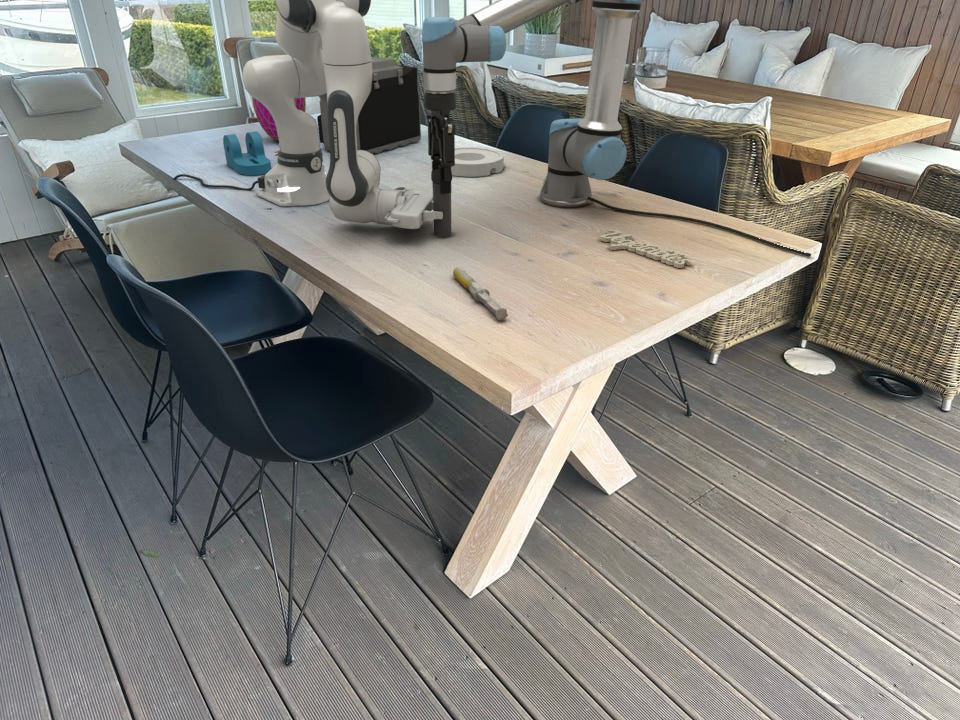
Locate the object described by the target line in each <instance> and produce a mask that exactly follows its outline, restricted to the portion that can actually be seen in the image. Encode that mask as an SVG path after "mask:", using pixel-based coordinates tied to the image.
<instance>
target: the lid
mask: <svg viewBox="0 0 960 720" xmlns="http://www.w3.org/2000/svg"><path fill="white" fill-rule="evenodd" d="M430 173H431V174H430V179H431V182H432V181H433V182H435V183H440V169H436V170H433V171H432V170H431V171H430ZM452 181H453V175H452V171H451V182H452Z"/></svg>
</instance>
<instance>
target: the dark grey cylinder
mask: <svg viewBox="0 0 960 720" xmlns="http://www.w3.org/2000/svg"><path fill="white" fill-rule="evenodd" d="M432 192H433V210H432V211H437V210H440V211H443V212H444V217H443V218H442V219H433V220H432V221H433V236H434V237H436V238H443V239H444V238H449V237H451V236H452V192H451V193H447V194H440V183H435V182H433V187H432Z"/></svg>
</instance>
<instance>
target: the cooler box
mask: <svg viewBox="0 0 960 720" xmlns="http://www.w3.org/2000/svg"><path fill="white" fill-rule="evenodd" d="M371 61H372V86H371V92H370V94H369V96H368V98H367V99H366V101H365V103H364V105H363V107H362V109H361V111H360V113H359V116H358V119H357V125H356V137H357V150H365V151H368V152H370V153H371V154H373V155H374V154H375V155H377V154H381V153H382V152H383V151H391V150H395V149H396V148H397V147H405V146H407V145H408V144H416V143H418V142H419V141H421V137H422V128H421V97H420V92H419V91H420V89H419V68H418V67H417V66H408V65H400V64H396V62H395V60H394V59H393V58H385V57H377V56H371ZM318 98H319V110H320V111H319V112H320V114H319V115H317V116H316V119H317V120H316V121H317V125H318V134H319V143H320V144H323V146H324V149H325V150H327V151H330V148H329V132H328V105H327V94H324V95H321V96H318Z"/></svg>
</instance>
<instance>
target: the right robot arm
mask: <svg viewBox="0 0 960 720" xmlns="http://www.w3.org/2000/svg"><path fill="white" fill-rule="evenodd" d="M582 1H583V0H495V1H494V2H491V3H490V4H488V5H486V6H484V7H482V8H480V9H478V10H476V11H474V12H472V13H470V14H468V15H466V16H463V17H462V18H460V19H455V18H454V17H451V16H428V17H426V18H424V19H423V21H422V30H421V31H422V32H421V34H422V35H421V42H422V59H423V60H422V61H423V71H422V80H423V84H422V85H423V89H424V91H425V92H424V93H423V105H424V109H425V110H427V111H430V113H429V114H426V120H427V121H426V122H427V152H428V154H427V155H428V156H429V157H430V160H431V171H433V170H436V169H440V194H447V193H451V194H452V181H451V167H452V166H455V148H456V147H455V144H456V143H455V142H456V141H455V138H456V137H455V136H456V135H455V133H456V124H455V123H452V119H451V114H450V112H451V111H454V110H456V108H457V93H456V92H455V91H456V90H457V80H458V79H459V78H458V74H457V64H462V63H479V62H480V63H491V62H497V61H498V62H499V61H502V59H503V58H504V57H505V54H506V50H507V37H506V34H507V33H510V32H511V31H514V30H516V29H518V28H520V27H522V26H523V25H525V24H528V23H529V22H531V21H533V20H535V19H537V18H540V17H541V16H543V15H545V14H547V13H549V12H552V11H554V10H555V9H557V8H560V7H562V6H563V5H565V4H566V5H568V6H573V5H575V4H577V3H579V2H582ZM642 1H643V0H592V8H591V9H592V11H594V13H595V15H596V24H595V32H594V40H593V48H592V56H591V66H590V71H589V79H588V86H587V95H586V102H585V110H584V117H583V118H580V117H579V118H562V119H554V120H553V121H552V122H551V124H550V127H549V128H550V129H549V134H548V136H549V141H548V142H549V143H548V156H547V157H548V159H547V173H546V176H545V178H544V179H543V182H542V187H541V189H540V192H539V200H540V202H542V203H543V204H546V205H549V206H553V207H558V208H559V207H560V208H580V207H584V206H588V205H589V204H591V203H593V202H594V203H596V204H598V205H600V206H602V207H605V208H607V209H609V210H613V211H616V212H621V213H628V214H634V215H640V216H641V215H642V216H651V217H661V218H668V219H669V218H670V219H676V220H682V221H687V222H692V223H698V224H702V225H706V226H710V227H714V228H718V229H721V230H724V231H728V232H731V233H734V234H737V235H739V236H743V237H746V238H749V239H751V240H754V241H757V242H760V243H762V244H765V245H768V246H771V247H774V248H777V249H780V250H783V251H786V252H787V251H788V252H790V253H795V254H798V255H802V256H805V257H808V258H811V256H812V253H810V252H807V251H803V252H801V251H802V250H800V251H797V250H798V249H796V250H794V249H795V248H793V249H790V248H791V247H789V248H787V247H788V246H786V247H783V246H784V245H782V246H780V245H781V244H779V245H777V244H778V243H776V242H773V241H769V240H767V239H763V238H762V237H759V236H755V235H753V234H750V233H747V232H743V231H741V230H738V229H735V228H731V227H728V226H725V225H722V224H718V223H714V222H710V221H706V220H703V219H699V218H693V217H688V216H682V215H675V214H669V213H661V212H651V211H650V212H649V211H641V210H635V209H627V208H621V207H620V208H619V207H616V206H613V205H609V204H608V203H605V202H603V201H601V200H598V199H596V198H594V197H593V193H592V188H591V184H590V179H594V180H598V181H605V180H609V179H611V178H613V177H615V175H616V174H618V173H619V172H620V171H621V169H622V168H623V167H624V165H625V162H626V159H627V153H628V151H627V146H626V144H625V143H624V141H623V140H622V139H621V136H622V132H623V130H622V129H623V126H622V125H621V123H620V122H619V121H618V119H619V113H620V112H619V111H620V105H621V98H622V92H623V85H624V79H625V71H626V66H627V65H626V64H627V57H628V52H629V51H628V50H629V45H630V39H631V32H632V31H631V30H632V24H633V19H634V18H635V17H636V16H637V15H638V14H639V13H640V12H641V7H642ZM440 159H441V160H440ZM431 183H432V185H431V187H432V188H433V181H432V180H431ZM759 238H760V239H759ZM774 243H775V244H774ZM804 252H806V253H804Z"/></svg>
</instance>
